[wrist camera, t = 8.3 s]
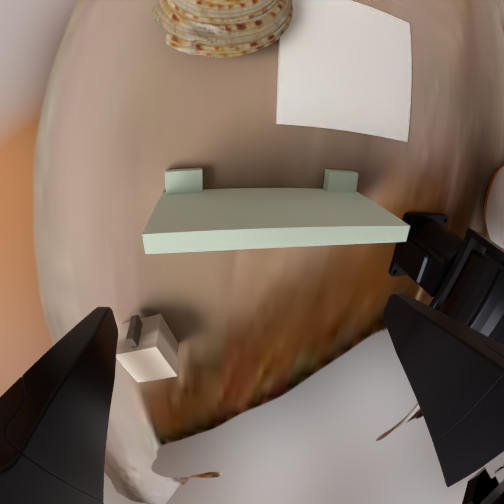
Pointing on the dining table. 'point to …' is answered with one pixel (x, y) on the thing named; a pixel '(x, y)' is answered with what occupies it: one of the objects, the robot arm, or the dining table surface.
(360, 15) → the tile
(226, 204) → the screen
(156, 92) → the dining table surface
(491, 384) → the robot arm
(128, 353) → the small beige block
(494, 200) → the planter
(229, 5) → the seashell
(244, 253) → the dining table surface
